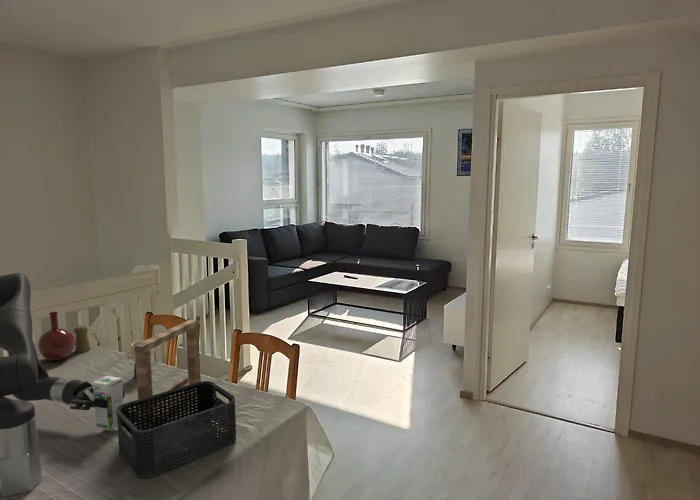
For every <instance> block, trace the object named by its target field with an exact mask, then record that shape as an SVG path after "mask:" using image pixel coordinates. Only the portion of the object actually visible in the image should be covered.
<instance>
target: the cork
mask: <svg viewBox="0 0 700 500" xmlns="http://www.w3.org/2000/svg"><path fill="white" fill-rule="evenodd" d="M73 331H74V334H75V345H74V352H75V353H76V354H77V353H78V354H79V353H80V354H81V353H82V354H83V353H87V352H89V351H91V349H92V348H91V345H90V341H89V337H88V331H89V327H88V326H86V325H84V324H83V325H77V326H75V328H74V329H73Z"/></svg>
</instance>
